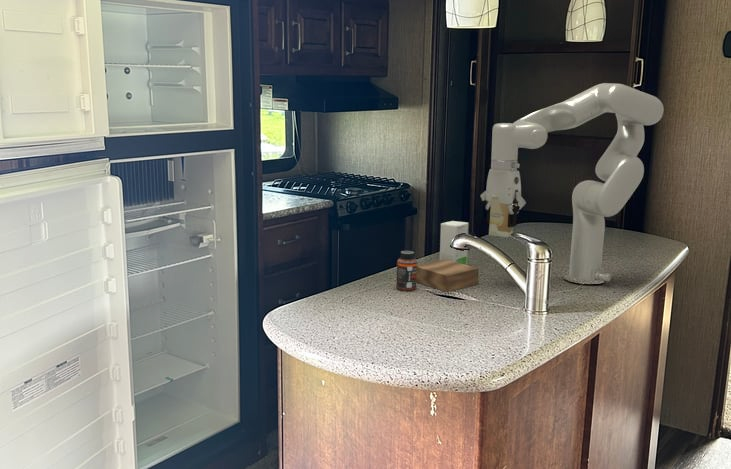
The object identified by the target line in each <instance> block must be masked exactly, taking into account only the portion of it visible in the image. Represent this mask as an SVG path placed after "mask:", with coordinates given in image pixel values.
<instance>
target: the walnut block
mask: <svg viewBox="0 0 731 469" xmlns="http://www.w3.org/2000/svg"><path fill="white" fill-rule="evenodd" d="M416 284H420V285H423V286H426V287H429V288H432V289H436V290H438V291H441V292H445V293H448V292H453V291H456V290H460V289H465V288H467V287H471V286H476V285H479V267H475V266H472V265H468V264H467V265H465V264H461V263H458V262H454V261H450V260H447V259H444V260H440V259H439V260H435V261H430V262H427V263H423V264H417V276H416Z"/></svg>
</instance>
